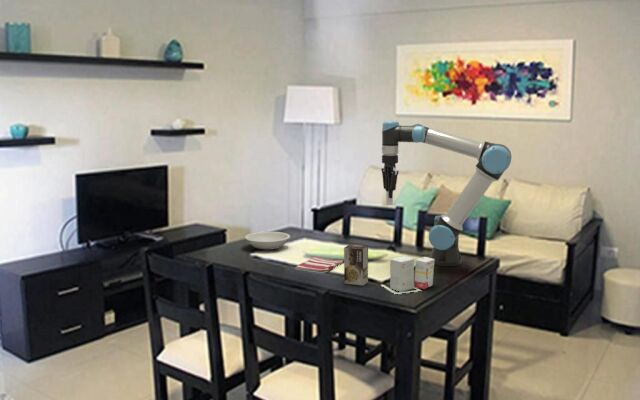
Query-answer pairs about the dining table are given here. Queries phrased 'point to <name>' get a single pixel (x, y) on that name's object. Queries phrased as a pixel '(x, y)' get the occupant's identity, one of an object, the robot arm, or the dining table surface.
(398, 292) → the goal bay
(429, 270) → the ink box
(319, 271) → the dish towel
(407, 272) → the small box
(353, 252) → the coffee box
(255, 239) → the soup bowl
